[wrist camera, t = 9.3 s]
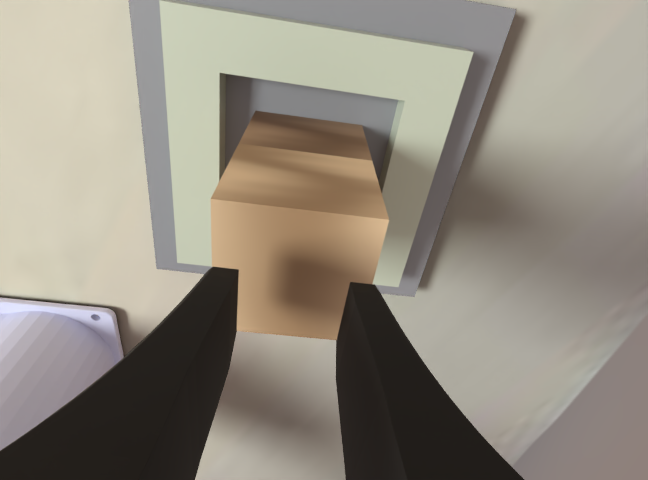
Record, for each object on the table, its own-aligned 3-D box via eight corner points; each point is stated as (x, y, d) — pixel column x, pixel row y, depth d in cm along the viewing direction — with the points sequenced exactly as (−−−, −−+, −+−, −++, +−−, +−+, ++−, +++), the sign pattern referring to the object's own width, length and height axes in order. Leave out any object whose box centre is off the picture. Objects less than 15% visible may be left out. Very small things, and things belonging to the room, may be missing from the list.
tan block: (251, 205, 19) (213, 328, 12) (255, 110, 16) (210, 198, 10) (344, 216, 19) (357, 342, 13) (361, 125, 17) (389, 219, 10)
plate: (163, 257, 22) (148, 283, 20) (134, -58, 14) (106, -64, 12) (411, 285, 23) (418, 311, 21) (505, 7, 15) (530, 11, 14)
